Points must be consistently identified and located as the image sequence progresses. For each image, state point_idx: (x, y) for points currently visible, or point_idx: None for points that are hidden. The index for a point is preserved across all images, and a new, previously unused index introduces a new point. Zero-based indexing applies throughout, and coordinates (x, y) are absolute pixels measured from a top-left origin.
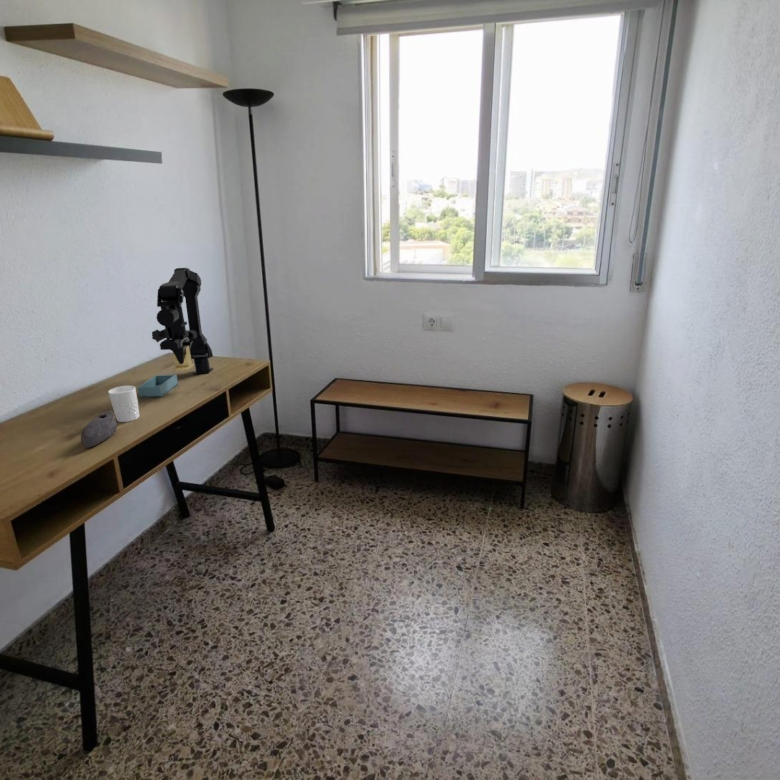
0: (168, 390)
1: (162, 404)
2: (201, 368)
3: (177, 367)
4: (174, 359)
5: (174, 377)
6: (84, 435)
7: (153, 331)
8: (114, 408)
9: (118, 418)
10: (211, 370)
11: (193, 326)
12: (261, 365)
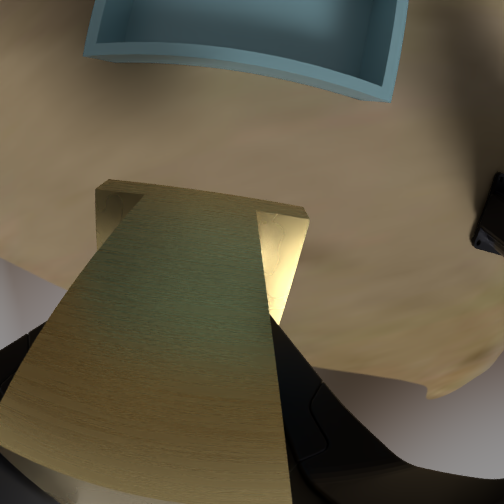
0: (211, 66)
1: (14, 123)
2: (494, 232)
3: (102, 232)
4: (108, 245)
5: (349, 89)
6: None
7: None
8: None
9: None
10: (496, 252)
11: None
12: (438, 392)
